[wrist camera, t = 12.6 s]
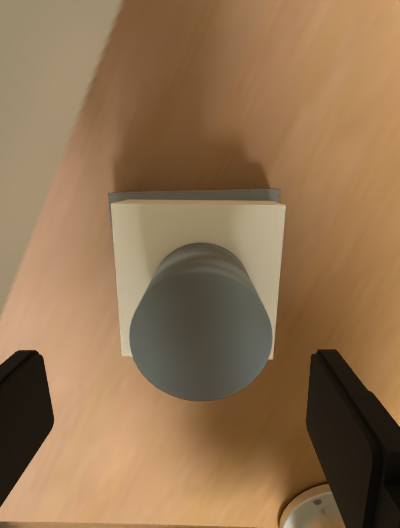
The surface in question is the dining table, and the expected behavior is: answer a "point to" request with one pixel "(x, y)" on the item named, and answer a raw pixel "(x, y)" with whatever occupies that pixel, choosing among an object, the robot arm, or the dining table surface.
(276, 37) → the dining table surface
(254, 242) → the tower top
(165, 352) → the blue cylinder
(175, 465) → the dining table surface
